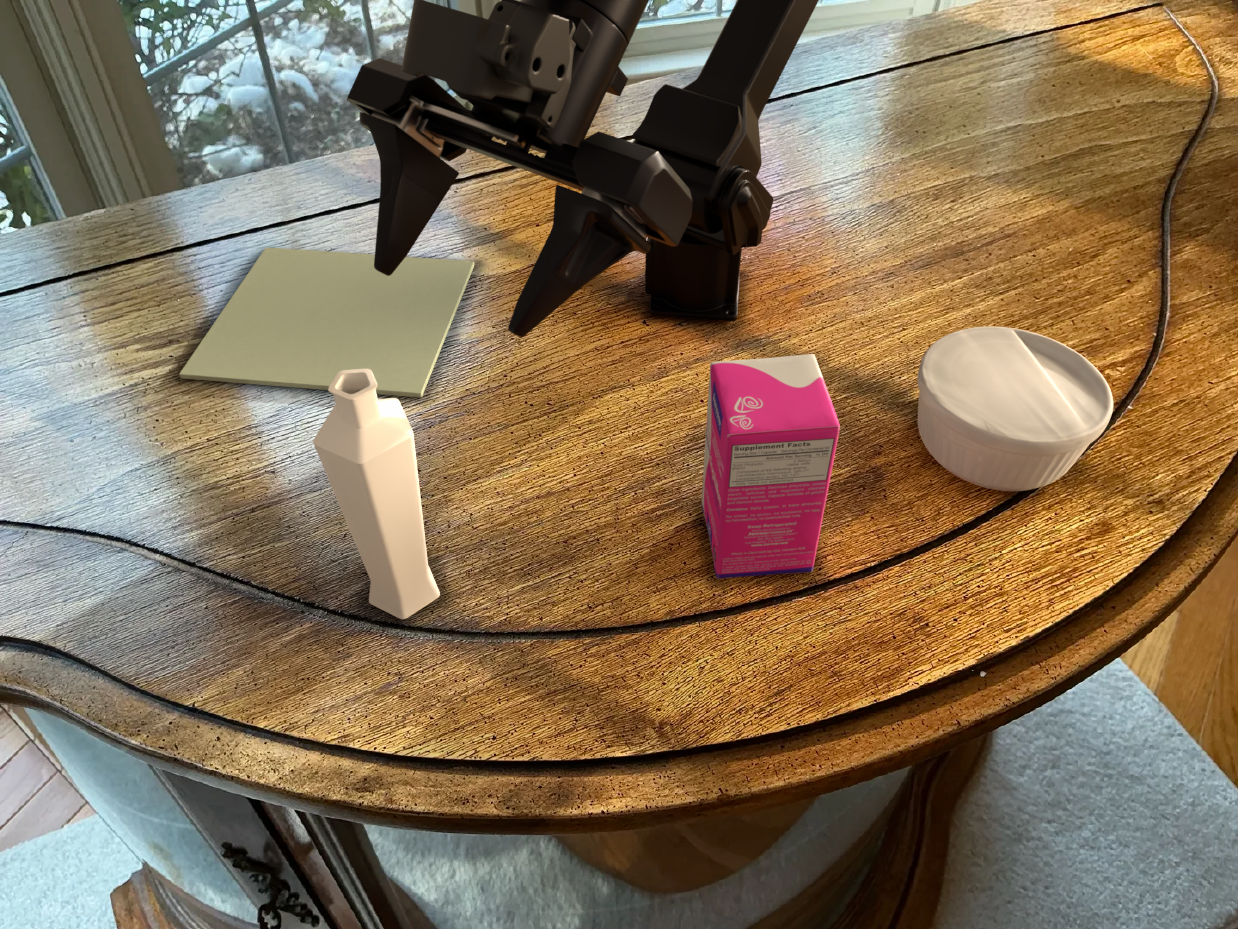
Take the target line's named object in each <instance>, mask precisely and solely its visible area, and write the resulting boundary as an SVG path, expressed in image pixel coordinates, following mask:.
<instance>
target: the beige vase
mask: <svg viewBox="0 0 1238 929" xmlns="http://www.w3.org/2000/svg"><path fill="white" fill-rule="evenodd" d="M376 387H377V382H376V380H375V377H374V375H373V373H372V371H371V370H370V369H353V370H342V371H340V372H338V373H337V375H336V376H335V378H334V379H333V381H332V383H331V384H330V386H329V388H328V390H327V391H328V392H329V393H331V394H332V395H333V400H334V402H335V404H334V405H333V407H332V409H331V411H330V412H329V413H328V416H327V417H326V418H325V421H324V422H323V424H322V425H321V426H320V429H319V430H318V432H317V434H316V435H315V436H314V438H313V440H312V443H313V446H314V448H315V450H316V453H317V455H318V458H319V460H320V462H321V465H322V467H323V469H324V472H325V474H326V477H327V479H328V482H329V484H330V486H331V489H332V491H333V494H334V496H335V498H336V501H337V503H338V506H339V508H340V510H341V513H342V516H343V518H344V521H345V522H346V525H347V528H348V530H349V532H350V535H351V537H352V539H353V542H354V544H355V547H356V549H357V552H358V554H359V557H360V559H361V561H362V563H363V567H364V569H365V571H366V574H367V575H368V579H369V580H370V585H369V594H368V603H369V604H370V605H372V606H374V607H376V608H378V609H380V610H382V611H384V612H386V613H387V614H390V615H392V616H394V617H396V618H397V619H400V620H406V619H408V618H410V617H411V616H413V615H414V614H416V613H417V612H419V611H420V610H422V609H423V608H425V607H426V606H428V605H430V604H431V603H432V602H434V601H435V600H437V599H438V598H439V597H440V596H441V592H440V589H439V587H438V585H437V582H436V580H435V578H434V575H433V573H432V570H431V568H430V566H429V560H428V552H427V542H426V535H425V534H426V533H425V526H424V525H425V524H424V517H423V508H422V498H421V489H420V481H419V472H418V462H417V453H416V445H415V435H414V431H413V428H412V426H411V424H410V422H409V419H408V417H407V415H406V412H405V410H404V408H403V406H402V404H401V402H400V400H399V399H398V398H396V397H389V398H378V394H376V390H375V389H376Z"/></svg>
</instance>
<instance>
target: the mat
mask: <svg viewBox="0 0 1238 929" xmlns="http://www.w3.org/2000/svg"><path fill="white" fill-rule="evenodd" d="M374 258H375V254H370V253H358V252H357V253H356V252H355V253H354V252H341V251H327V250H314V249H313V250H311V249H295V248H284V247H283V248H282V247H264V249H263V251H262V252H261V254H260V255H259V257H258V258H257V259H256V261H255V263H254V264H253V265H252V267H251V268H250V270H249V272H248V273H247V274H246V276H245V277H244V278H243V279H242V282H241V283H240V284H239V285H238V287H237V289H236V290H235V292H234V293H233V294H232V296H231V297H230V299H229V300H228V301H227V303H226V305H225V306H224V308H223V309H222V310H221V312H220V314H218V317H216V319H215V320H214V322H213V324H212V325H211V327H210V328H209V329H208V331H207V333H206V334H205V335H204V337H203V338H202V340H201V342H200V343H199V344H198V346H197V347H196V348H195V350H194V351H193V353H192V355H191V356H190V357H189V359H188V360H187V362H186V363H185V365H184V366H183V368H182V369H181V371H180V372H179V374H178V375H179V377H180V379H184V380H196V381H208V382H209V381H210V382H221V383H222V382H223V383H235V384H245V385H257V386H259V385H260V386H271V387H285V388H297V389H298V388H299V389H310V390H321V391H322V390H323V391H328V388H329V386H330V384H331V383H332V381H333V379H334V378H335V376H336V375H337V373H338V372H340V371H342V370H353V369H370V370H371V371H372V373H373V375H374V377H375V380H376V382H377V387H376V389H375V390H376V394H377V395H384V396H385V395H386V396H396V397H397V396H399V397H408V398H409V397H410V398H423V395H424V393H425V390H426V388H427V385H428V382H429V380H430V378H431V375H432V372H433V370H434V368H435V366H436V363H437V360H438V358H439V355H440V353H441V350H442V348H443V345H444V342H445V340H446V338H447V335H448V333H449V330H450V328H451V326H452V323H453V321H454V317H455V315H456V313H457V310H458V308H459V305H460V303H461V301H462V298H463V295H464V293H465V290H466V288H467V285H468V283H469V280H470V278H471V275H472V273H473V270H474V268H475V261H473V260H459V259H445V258H430V257H428V258H427V257H415V256H406V257H405V258H404V260H403V261H402V262H401V263H400V265H399V266H398V267H397V268H396V270H395V271H394V272H393V273H392V274H391V275H390V276H387V275H385V274H383V273H381V272H379V271H377V270H376V269H375V268H374Z"/></svg>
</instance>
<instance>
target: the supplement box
mask: <svg viewBox="0 0 1238 929" xmlns="http://www.w3.org/2000/svg"><path fill="white" fill-rule="evenodd" d="M708 379H709V380H708V390H707V391H708V392H707V393H708V394H707V406H706V407H707V408H706V425H705V439H704V455H703V457H704V458H703V472H702V488H701V509H702V514H703V517H704V520H705V524H706V530H707V534H708V540H709V544H710V549H711V556H712V560H713V561H712V562H713V569H714V574H715V575H714V576H715V578H716V579H718V580H719V579H728V578H729V579H731V578H745V577H758V576H773V575H787V574H788V575H789V574H809V573H813V572H814V567H815V560H816V557H817V556H816V555H817V552H818V546H819V542H820V541H819V539H820V535H821V530H822V525H823V519H824V518H823V517H824V513H825V508H826V502H827V498H828V492H829V488H830V483H831V477H832V471H833V467H834V463H835V462H834V461H835V456H836V451H837V446H838V441H839V434H840V429H841V425H840V422H839V419H838V415H837V412H836V410H835V407H834V405H833V401H832V397H831V395H830V393H829V391H828V388H827V385H826V382H825V379H824V376H823V374H822V371H821V369H820V366H819V363H818V360H817V357H816V355H815V354H814V353H808V354H796V355H785V356H777V357H763V358H762V357H761V358H749V359H748V358H747V359H733V360H732V359H731V360H717V361H710V363H709V377H708Z"/></svg>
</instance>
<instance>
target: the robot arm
mask: <svg viewBox="0 0 1238 929" xmlns="http://www.w3.org/2000/svg"><path fill="white" fill-rule="evenodd" d="M819 1H820V0H736V2H735V3H734V6H733V7H732V10H731V12H730V13H729V16H728V18H727V20H725V23H724V25H723V27H722V29H721V31H720V33H719V35H718V37H717V39H716V40H715V43H714V45H713V47H712V49H711V51H710V53H709V55H708V57H707V59H706V61H705V62H704V64H703V66H702V68H701V71H700V72H699V74H698V76H697V77H696V79H695V80H693V81H692V82H690V83H689V84H687V85H685V86H684V87H682V88H680V87H678V86H674V85H670V84H668V83H665V84H663V85H662V86H661V87H660V88H659V89H658V90H657V91H656V92H655V93H654V95H653V97H652V100H651V102H650V105H649V107H648V110H647V111H646V114H645V116H644V118H643V120H642V121H641V123H640V124H639V126H638V127H637V128H636V129H635V131H634V132H633V133H632V135H631V138H632V139H633V141H629V140H626V139H623V138H619V137H616V136H615V135H610V134H608V133H605V132H602V131H599V130H598V131H596V132H594V133H593V134H591V135H589V136H588V137H586V136H587V135H588V132H589V130H590V128H591V126H592V124H593V121H594V120H595V117H596V115H597V113H598V111H599V109H600V107H601V104H602V103H603V100H604V99H605V96H606V94H610V95H614V96H616V97H621V96H622V93H623V92H624V89H625V87H626V85H627V83H628V81H629V78H628V77H627V75H626V74H625V72H624V71H623V70H622V69H621V67H620V64H621V62H622V60H623V57H624V55H625V53H626V51H627V48H628V47H629V45H630V42H631V40H632V38H633V36H634V34H635V32H636V29H637V28H638V25H639V22H640V21H641V19H642V17H643V15H644V13H645V10H646V8H647V6H648V4H649V2H650V0H499V1H498V2H496V3H495V5H494V6H493V9H492V11H491V13H490V15H489V16H488V18H484V17H482V16H478V15H475V14H472V13H468V12H464V11H462V10H459V9H454V8H451V7H448V6H444V5H441V4H438V3H434V2H430V1H428V0H413V4H412V11H411V15H410V20H409V27H408V32H407V37H406V43H405V47H404V52H403V58H402V64H399V63H396V62H393V61H390V60H387V59H385V58H384V59H383V58H381V57H379V58H377V59H374V60H371V61H369V62H366V63H364V64H361V66H360V68H359V70H358V73H357V75H356V77H355V79H354V81H353V83H352V86H351V88H350V89H349V90H350V91H349V92H348V95H347V97H346V101H347V102H348V103H350V105H352V106H353V107H355V108H357V109H358V111H360V112H359V116H358V117H359V124H360V125H361V126H362V127H363V128H364V129H366V130H367V131H368V132H370V134H371V137H372V140H373V143H374V145H375V149H376V151H377V154H378V157H379V158H378V159H379V167H380V168H379V169H380V170H379V171H380V172H379V173H380V174H379V176H380V184H379V186H380V188H379V189H380V190H379V200H378V201H379V202H378V214H377V223H376V224H377V226H376V236H375V246H374V248H375V249H374V255H375V258H374V268H375V269H376V270H377V271H379V272H381V273H383V274H385V275H387V276H390V275H391V274H392V273H393V272H394V271H395V270H396V268H397V267H398V266H399V265H400V263H401V262H402V261H403V260H404V258H405V257H408V254H410V251H411V250H412V248H413V247H414V245H415V244H416V242H417V240H418V239H419V238H420V236H421V234H422V233H423V231H424V230H425V228H426V226H427V225H428V223H429V222H430V220H431V219H432V217H433V216H434V214H435V212H436V211H437V209H438V208H439V206H440V204H441V203H442V201H443V200H444V199H445V197H446V196H447V194H448V193H449V191H450V189H451V187H452V186H453V184H454V183H455V182H456V180H457V179H458V177H459V174H460V172H459V171H458V170H457V169H455V168H453V166H451V165H450V164H449V163H447V162H452V161H453V160H455V159H457V158H459V157H461V156H463V155H465V153H466V152H467V151H468V150H470V151H472V152H475V153H477V154H479V155H483V156H485V157H488V158H491V159H493V160H497V161H500V162H502V163H504V164H506V165H507V164H508V165H509V166H512V167H515V168H517V169H521V170H524V171H526V172H529V173H532V174H534V175H536V176H540V177H542V178H545V179H548V180H550V181H553V182H556V183H559V184H556V186H555V190H554V205H553V219H552V220H553V222H552V226H551V230H550V232H549V233H548V236H547V237H546V240H545V243H544V244H543V247H542V248H541V250H540V253H539V255H538V257H537V259H536V261H535V263H534V266H533V267H532V269H531V271H530V274H529V276H528V278H527V280H526V281H525V283H524V286H523V288H522V290H521V292H520V294H519V297H518V299H517V301H516V303H515V306H514V309H513V312H512V315H511V317H510V320H509V323H508V327H507V330H508V332H509V333H511V334H513V335H514V336H516V337H519V338H523V337H525V336H527V334H529V333H530V332H531V331H532V330H534V329H535V328H536V327H538V326H539V325H540V324H541V323H542V322H543V321H544V320H545V319H547V317H549V316H550V315H551V314H552V313H553V312H555V311H556V310H558V308H559V307H560V306H562V305H563V304H564V303H565V302H567V300H569V299H570V298H571V297H572V296H573V295H575V294H576V293H577V292H578V291H579V290H581V289H582V288H583V287H584V286H585V285H587V284H588V283H590V282H591V281H592V280H593V279H595V278H596V277H598V276H599V275H601V274H602V273H604V272H605V271H606V270H609V268H611V267H612V266H614V265H616V263H618V262H619V261H621V260H623V258H625V257H626V256H628V255H629V254H631V253H634V252H637V253H640V254H643V255H645V261H644V262H645V263H644V264H645V266H644V267H645V268H644V269H645V270H644V293H645V294H646V295H647V296H650V298H649V305H648V314H649V315H650V316H652V317H661V318H675V319H687V320H688V319H689V320H700V321H701V320H703V321H704V320H705V321H717V322H735V321H736V320H737V319H738V311H739V296H740V295H739V294H740V277H741V276H740V275H741V262H742V261H741V260H742V253H743V252H742V251H743V248H744V249H747V248H754V247H755V248H756V247H758V246H759V245H760V244H761V243H762V237H763V231H764V230H765V229H766V228H767V226H768V222H769V220H770V219H771V211H772V208H773V204H774V197H773V196H772V194H771V193H770V192H769V191H768V190H767V188H766V187H765V186H764V185H763V183H762V182H761V181H760V180H759V179H758V174H759V172H760V170H761V167H762V164H763V163H762V149H761V148H762V147H761V138H760V137H761V135H760V124H759V122H760V121H759V120H760V118H761V116H762V113H763V112H764V110H765V107H766V105H767V103H768V101H769V99H770V97H771V95H772V93H773V92H774V89H775V87H776V86H777V83H778V82H779V80H780V78H781V76H782V74H783V71H784V69H785V68H786V66H787V64H788V62H789V60H790V58H791V57H792V55H793V52H794V49H795V48H796V46H797V44H798V42H799V41H800V39H801V36H802V34H803V33H804V30H805V29H806V27H807V25H808V23H809V21H810V19H811V17H812V15H813V13H814V11H815V9H816V7H817V5H818V3H819ZM434 79H437V80H440V81H443V82H445V83H446V85H447V87H448V89H450V90H451V91H452V92H453V93H454V94H455V95H457V97H459V98H460V99H462V100H464V101H467V102H468V103H470V104H471V105H472V108H471V109H468V108H466V107H465V106H464V105H463V104H462V103H460V102H459V101H458V100H457V98H455V97H454V96H453V95H452V94H450V92H449V91H447V90H446V89H445V88H444V87H443V86H441V85H440V84H439V83H438V82H437V81H436V80H434ZM493 139H496V140H498V141H500V140H501V142H503V143H501V142H498V141H496V140H493ZM504 143H505V144H504ZM530 150H533V151H536V152H538V153H540V154H541V153H542V154H544V156H540V155H538V154H534V153H532V152H530ZM560 184H561V185H560ZM565 186H566V187H565ZM568 187H570V188H572V189H570V188H568ZM573 189H575V190H573ZM576 190H577V191H576ZM579 191H580V192H579Z"/></svg>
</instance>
